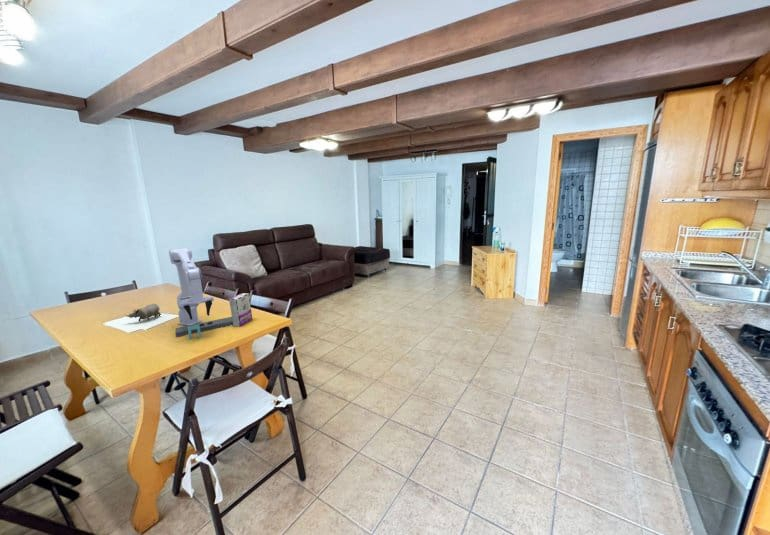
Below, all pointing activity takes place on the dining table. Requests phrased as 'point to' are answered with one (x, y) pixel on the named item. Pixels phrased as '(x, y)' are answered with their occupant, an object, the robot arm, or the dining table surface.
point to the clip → (193, 329)
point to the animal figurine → (146, 312)
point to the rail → (204, 326)
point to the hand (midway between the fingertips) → (199, 317)
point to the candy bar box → (240, 309)
